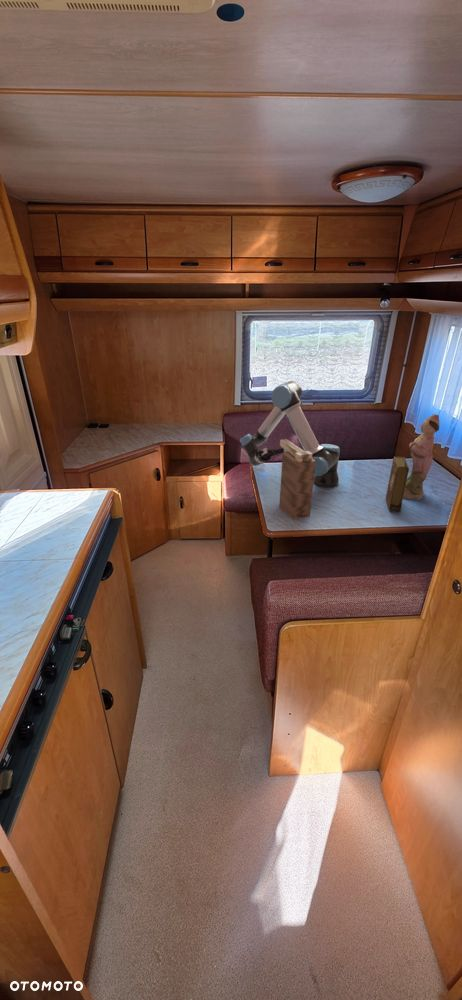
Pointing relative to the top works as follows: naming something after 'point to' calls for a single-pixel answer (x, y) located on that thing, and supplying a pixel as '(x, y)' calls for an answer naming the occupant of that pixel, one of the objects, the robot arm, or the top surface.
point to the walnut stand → (296, 486)
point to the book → (397, 483)
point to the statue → (421, 458)
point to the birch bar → (296, 451)
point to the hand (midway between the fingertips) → (278, 448)
